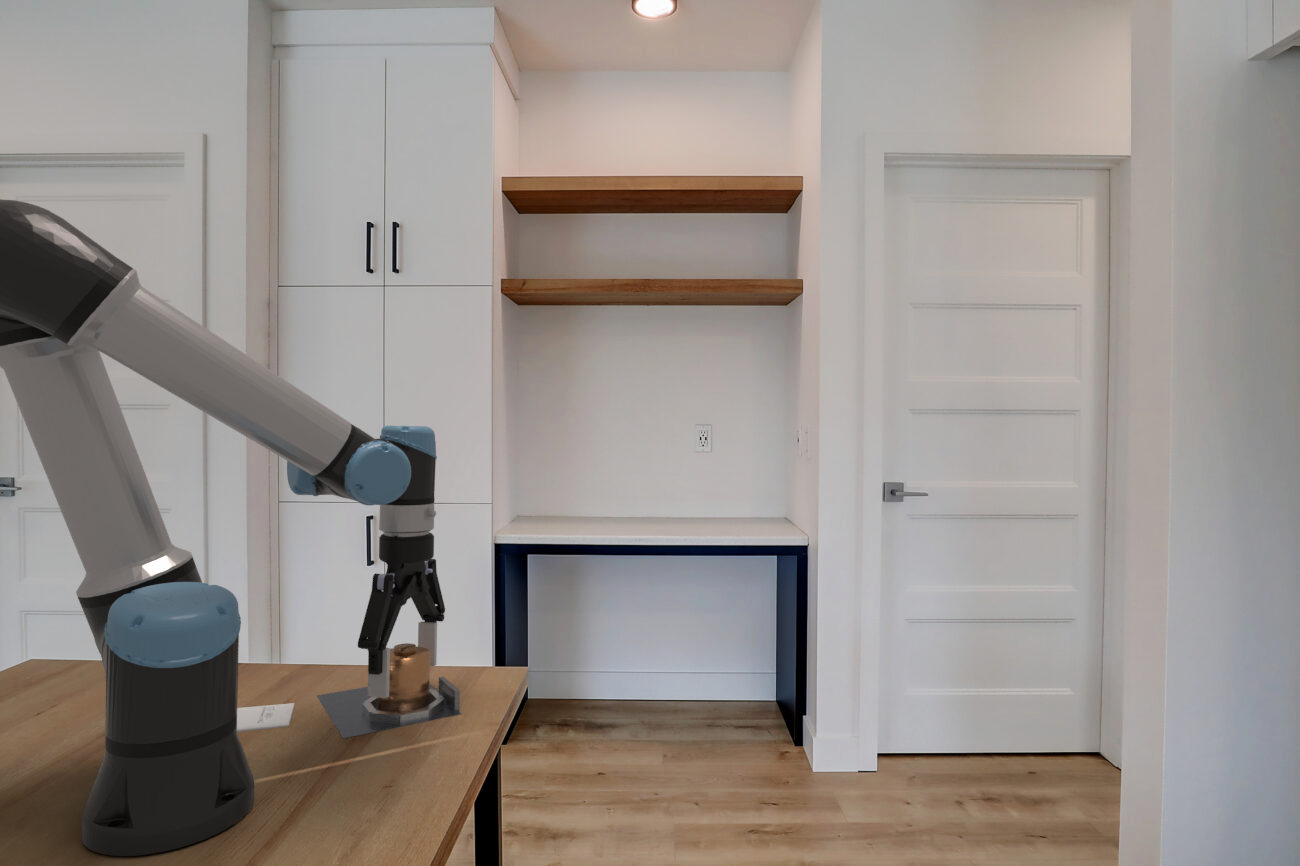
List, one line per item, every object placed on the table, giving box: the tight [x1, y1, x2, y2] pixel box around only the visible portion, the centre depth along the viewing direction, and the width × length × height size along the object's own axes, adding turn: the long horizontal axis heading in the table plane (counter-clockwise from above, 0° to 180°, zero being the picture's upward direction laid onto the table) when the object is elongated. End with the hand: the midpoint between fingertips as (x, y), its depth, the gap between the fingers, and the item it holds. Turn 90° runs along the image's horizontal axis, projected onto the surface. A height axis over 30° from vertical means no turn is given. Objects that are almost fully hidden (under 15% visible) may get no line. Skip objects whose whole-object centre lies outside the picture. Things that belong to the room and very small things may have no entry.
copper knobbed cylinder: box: [378, 642, 431, 713], centre depth 107 cm, size 7×7×9 cm
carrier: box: [316, 676, 463, 739], centre depth 109 cm, size 18×16×4 cm
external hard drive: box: [237, 702, 296, 733], centre depth 102 cm, size 2×8×12 cm
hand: (404, 679), depth 107 cm, fingers open, 13 cm apart
